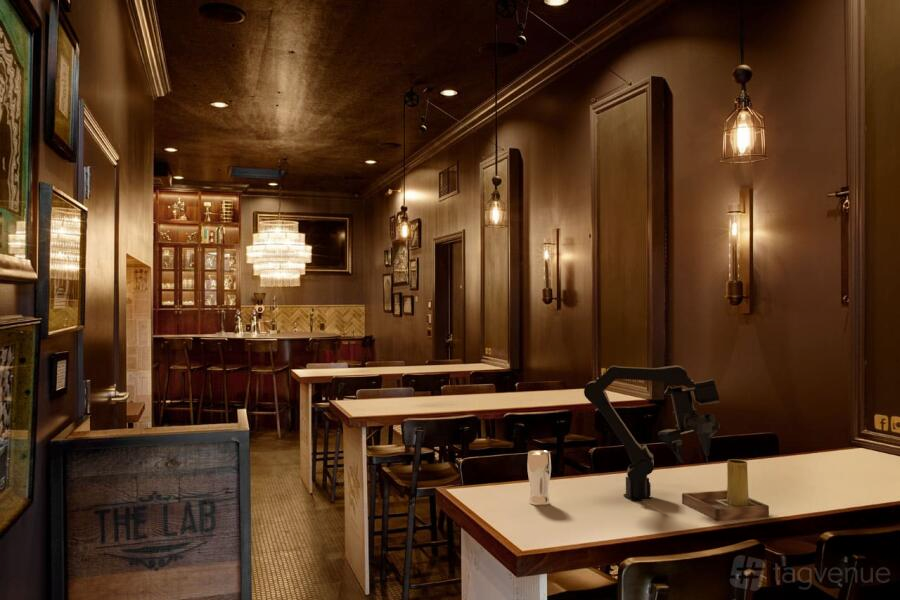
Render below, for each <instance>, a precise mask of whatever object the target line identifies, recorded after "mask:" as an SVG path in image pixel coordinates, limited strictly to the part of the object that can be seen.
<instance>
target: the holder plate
mask: <svg viewBox="0 0 900 600" xmlns="http://www.w3.org/2000/svg"><path fill="white" fill-rule="evenodd" d="M749 506H760V505H758V504H755V503H753V502H750V501H749ZM715 507H716V508H718V509H720V508H733V506H730V505H728V504H727V499H723V500H715Z"/></svg>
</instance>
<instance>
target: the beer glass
mask: <svg viewBox="0 0 900 600" xmlns="http://www.w3.org/2000/svg"><path fill="white" fill-rule="evenodd" d="M526 465H527V475H528V481H529V482H528V483H529V488H530V491H529V492H530V494H529V499H528V500H529V501H528V502H529V504H530V505H532V504H533V505H532V506H538V505H540V506H541V505H543V506H548V505H550V498H549V488H550V487H549V485H550V481H551V473H552V460H551V452H550V451H548V450H542V449H540V450H539V449H537V450H535V449H534V450H533V449H532V450H529V451H528V453H527V464H526ZM540 506H539V507H540Z"/></svg>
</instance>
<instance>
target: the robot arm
mask: <svg viewBox="0 0 900 600" xmlns="http://www.w3.org/2000/svg"><path fill="white" fill-rule="evenodd" d="M615 380H629V381H630V380H631V381H632V380H633V381H651V382H654V381H655V382H658V383H661V384H662V383H663V384H667V385H668V386H667V388H666V390H665V391H664V396H667V395H668V396H669V395H670V396H671V401H672V406H673V410H674V411H672V412H671V414H672V416H675V420H676V425H674V427H675V429H674V428H673V429H670V428H667V429H664V430H661V431H660V430H659V432H658V434H657V438H658V441H659V442H662V443H663V444H666V445H667V446H668V447H669V448H670V449H671V451H672V452H673V453H674V455H675V456H676V458H677V460H678V461H679V462H680V463H682V464H683V463H685V460H684V454H683V448H682V444H683V441H684V440H682V439H681V438H682V436H686V435H689V434H693V433H696V434H697V437H698V439H699V442H700V445H701V449H702V451H703V453H704V456H706V457H707V456H708V457H709V454H710V449H711V448H710V447H711V441H712V438H713V436H714V435H715V434H716V433H717V432H718V430H720V429H721V427H720V423H719V422H718V421H717V420H716V418H715V415H714V414H713V413H711V412H709V413H706V414H705V415H704V414H703V415H700V413H699V410H698V408H695V406H694V402H695V403H699V406H700V405H706V404H707V405H709V404H714V403H715V404H717V403H720V396H719V392H718V389H717V387H716V383H715V380H714V379H712V378H711V379H708V380H705V381H698V382H695V381H694V380H693V379H691V378H690V377H689V376H688V373H687V371H686V369H685V368H684V367H682V366H681V365H667V366H662V367H637V366H618V365H611V366H610V367H608V369H607V370H606V371H605V372H604V373H603V374H602V375H600V377H598V378H597V379H596V380H592V381H591V380H590V381H589V382H588V383H587V384H586V385H585V386H584V389H583V396H584V397H585V398H586V399H587V400H588V402H589V403H590V404H591V405H593V406H594V407H595V408H596V409H597V410H598V411H599V412H600V414H602V416H603V417H604V419H605V421H607V423H608V424H609V426H610V428H611V429H612V430H613V432H614V434H615V435H616V437H617V438H618V439H619V441H620V442H621V444H622V445H623V447H624V448H625V449H626V451H627V454H628V457H629V459H630V461H631V464H630V465H629V466H628V467H627V472H626V476H625V493H623V496H624V497H625V498H627V499H628V500H630V501H633V502H635V501H636V502H637V501H638V502H639V501H643V500H652V499H653V498H652V497H651V495H652V494H651V490H652V489H651V485H652V484H651V482H650V478H649V477H648V475H650V474H651V473H653V471H654V468H655V465H654V463H655V462H654V454H653V453H652V452H651V451H650V450H649V449H648V446H647V444H645V443H644V444H643V445H641V444H640V443H639V442H638V441H637V440H636V439H635V437H634V435H632V432H631V431H630V430H629V429H628V427H627V426H626V424H625V423H624V421H623V420H622V419H621V417H620V415H619V414H618V412H617V411H616V410H615V408H614V407H613V405H612V404H611V402H610V399H609V396H608V393H607V392H606V389H608V387H609V386H610V385H612V384H613V383H614V382H615ZM671 386H674V387H671ZM675 386H676V387H675ZM682 386H684V387H686V388H684V389H683V388H682ZM692 395H693V396H692ZM693 398H694V401H693Z"/></svg>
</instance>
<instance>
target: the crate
mask: <svg viewBox="0 0 900 600" xmlns="http://www.w3.org/2000/svg"><path fill="white" fill-rule="evenodd" d="M723 499H727V489H726V490H725V489H724V490H711V491H695V492H683V493H682V495H681V504H682V505H684V506H687V507H688V508H689V509H692V510H694V511H696V512H698V513H700V514H703V515H704V516H706V517H708V518H710V519H712V520H714V521H716V522H722V521H733V520H745V519H747V520H748V519H761V518H770V506H769V505H768V504H765V503H763V502H760V501H759V500H758V501H757V500H756V499H753V498H750V497H749V501H750V502H753V503H755V504H758V505H760V506H747V507H733V508H720V509H718V508H716V507H715V500H723Z"/></svg>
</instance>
